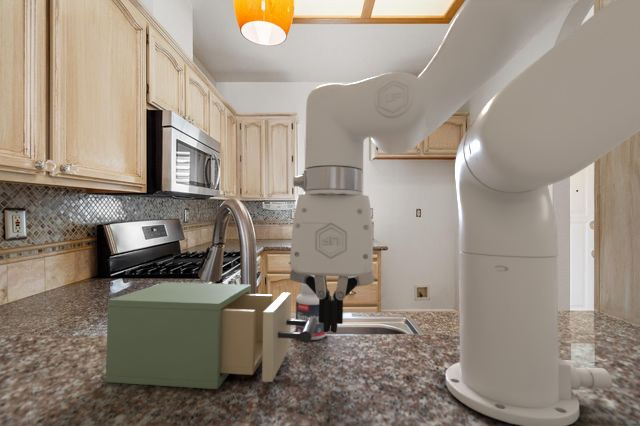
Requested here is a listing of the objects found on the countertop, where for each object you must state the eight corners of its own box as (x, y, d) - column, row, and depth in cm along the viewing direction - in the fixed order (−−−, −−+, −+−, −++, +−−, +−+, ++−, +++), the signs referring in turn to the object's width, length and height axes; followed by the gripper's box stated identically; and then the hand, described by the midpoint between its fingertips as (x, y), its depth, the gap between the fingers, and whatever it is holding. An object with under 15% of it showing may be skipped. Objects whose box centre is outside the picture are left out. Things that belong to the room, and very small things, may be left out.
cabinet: (250, 349, 48) (251, 284, 48) (217, 389, 36) (218, 303, 36) (163, 345, 49) (165, 282, 49) (105, 382, 37) (107, 299, 38)
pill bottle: (292, 339, 52) (292, 284, 52) (298, 329, 57) (299, 279, 57) (324, 341, 51) (325, 285, 51) (328, 331, 56) (328, 280, 56)
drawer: (318, 348, 46) (318, 293, 46) (308, 384, 36) (309, 313, 36) (207, 342, 48) (208, 290, 48) (167, 375, 37) (169, 308, 38)
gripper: (269, 181, 38) (265, 335, 38) (396, 182, 37) (394, 343, 36) (283, 188, 46) (279, 317, 45) (389, 189, 44) (387, 323, 44)
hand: (330, 328), depth 41 cm, fingers closed
